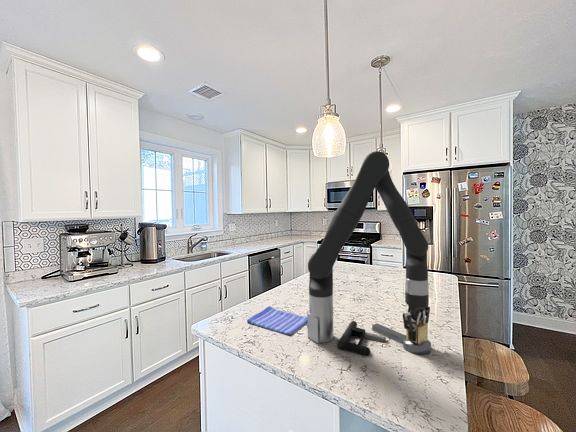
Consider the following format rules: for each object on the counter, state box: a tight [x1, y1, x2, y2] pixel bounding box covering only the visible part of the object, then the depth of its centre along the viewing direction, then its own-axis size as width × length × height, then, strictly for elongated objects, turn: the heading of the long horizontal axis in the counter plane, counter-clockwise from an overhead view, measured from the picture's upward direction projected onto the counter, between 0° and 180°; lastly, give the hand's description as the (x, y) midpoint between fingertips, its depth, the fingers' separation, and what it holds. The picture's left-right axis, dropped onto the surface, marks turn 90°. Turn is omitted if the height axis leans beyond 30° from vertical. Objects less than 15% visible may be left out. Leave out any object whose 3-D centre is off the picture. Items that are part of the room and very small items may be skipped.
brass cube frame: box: [405, 320, 429, 345], centre depth 94 cm, size 5×5×6 cm
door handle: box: [336, 320, 387, 357], centre depth 100 cm, size 3×20×16 cm
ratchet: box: [371, 323, 432, 356], centre depth 100 cm, size 9×22×7 cm, turn 34°
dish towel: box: [246, 305, 307, 336], centre depth 119 cm, size 17×24×3 cm
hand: (416, 337), depth 95 cm, fingers closed on brass cube frame, 5 cm apart
